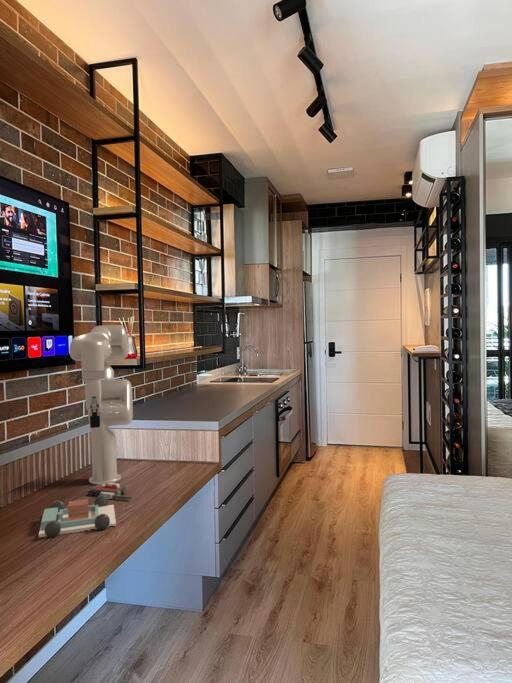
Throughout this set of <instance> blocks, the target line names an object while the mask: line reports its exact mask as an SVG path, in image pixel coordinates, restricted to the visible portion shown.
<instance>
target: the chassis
mask: <svg viewBox="0 0 512 683" xmlns="http://www.w3.org/2000/svg"><path fill="white" fill-rule="evenodd" d="M108 500H109V499H107V497H106V496H104V495H99V496H95V499H94V502H93V503H94V504H91V505H89V518H87V519H80V520H72V521H68V508H65V503H64V502H63V501H61V500H55V501H53V502H52V503H51V504H50V508H49V507H48V508H44V511H43V513H42V518H41V521H40V527H39V530H38V531H39V532H38V538H39V539H40V538H45V537H48V538H55V537H57V536H59V535H60V536H61V535H66V534H74V533H81V532H85V531H84V530H88V531H91V530H90V529H95V528H97V529H95V530H99V529H104V530H106V529H108V528H107V527H108V526H117V522H116V514H115V506H114V504H109V501H108ZM80 531H81V532H80Z"/></svg>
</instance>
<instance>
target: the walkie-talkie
mask: <svg viewBox="0 0 512 683" xmlns="http://www.w3.org/2000/svg"><path fill="white" fill-rule="evenodd" d="M126 493H127V488H126V486H125V485H124V486H123V485H121V484H120V483H119V482H114V483H109V484H105V483H103V484H95V485H94V486H91V490H88V495H91V496H92V495H95V496H94V497H98V496H99V495H104V496H106V497H107V499H108V500H110V499H112V500H114V499H121V500H126V499H127V500H132V499H133V497H132V496H127V495H125V494H126ZM122 494H123V495H122ZM120 495H121V496H120ZM113 498H114V499H113Z"/></svg>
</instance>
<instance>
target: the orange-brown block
mask: <svg viewBox="0 0 512 683" xmlns="http://www.w3.org/2000/svg"><path fill="white" fill-rule="evenodd" d="M67 504H68V505H67V509H68V521H72V520H80V519H87V518H89V506H90V504H89V498H86V499H78V500H77V499H76V500H70V501H68V503H67Z"/></svg>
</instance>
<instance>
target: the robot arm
mask: <svg viewBox="0 0 512 683" xmlns="http://www.w3.org/2000/svg"><path fill="white" fill-rule="evenodd" d="M68 350H69V356H70V358H71V359H72V361H77V362H81V363H80V364H81V381H82V382H85V383H84V386H85V388H84V391H85V392H84V393H85V409H86V411H88V412H87V417H88V421H89V427H90V437H91V438H90V439H91V440H90V441H91V466H92V468H91V469H92V476H90V477H89V478H88V483H89V484H91V485H98V484H103V483H105V484H106V485H107V484H109V483H118V482H119V481H121V478H122V476H121V474H120V473H118V467H117V466H118V465H117V463H118V462H117V461H118V460H117V439H116V434H115V432H113V430H112V429H111V428H110V427H115V426H127V425H130V424H131V423H132V421H133V418H134V411H133V410H134V409H133V408H134V407H133V404H134V403H133V386H132V383H131V382H130V380H129V379H125V378H122V379H121V378H120V379H115V371H114V369H113V368H112V366H111V365H110V364H109V363H108V362H106V360H119V359H120V360H122V359H123V360H124V359H125V358H127V357H128V356H129V351H130V348H129V340H128V334H127V331H126V329H125V328H124V326H123V325H120V324H119V325H118V324H116V325H115V324H113V325H111V324H108V325H105V324H104V325H96V326H95V327H93V328H92V329H91V330H90V332H88V333H83V334H81V335H77V336H75V337H73V339H72V340H71V342H70V344H69V349H68Z"/></svg>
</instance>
